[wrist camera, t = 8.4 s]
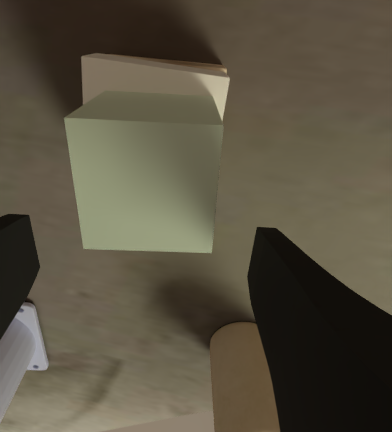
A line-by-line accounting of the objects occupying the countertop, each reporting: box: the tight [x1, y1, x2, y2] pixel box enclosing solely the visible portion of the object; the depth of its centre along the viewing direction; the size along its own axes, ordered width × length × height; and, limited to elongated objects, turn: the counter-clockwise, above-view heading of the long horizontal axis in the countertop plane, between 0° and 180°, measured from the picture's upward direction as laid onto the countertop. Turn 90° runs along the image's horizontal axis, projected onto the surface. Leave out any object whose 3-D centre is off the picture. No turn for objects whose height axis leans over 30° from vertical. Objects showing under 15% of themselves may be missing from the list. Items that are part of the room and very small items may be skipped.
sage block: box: [64, 91, 224, 253], centre depth 12 cm, size 4×4×5 cm
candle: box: [210, 322, 280, 432], centre depth 24 cm, size 6×6×10 cm
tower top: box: [81, 53, 230, 120], centre depth 15 cm, size 6×6×2 cm
